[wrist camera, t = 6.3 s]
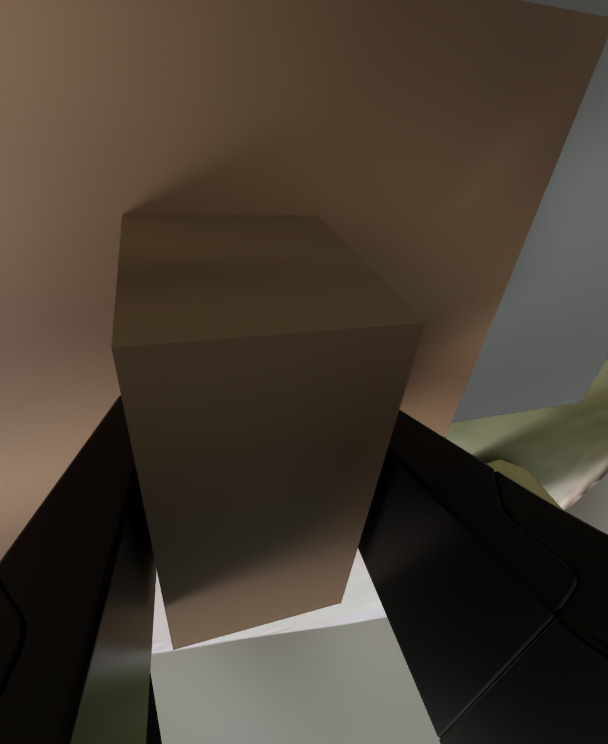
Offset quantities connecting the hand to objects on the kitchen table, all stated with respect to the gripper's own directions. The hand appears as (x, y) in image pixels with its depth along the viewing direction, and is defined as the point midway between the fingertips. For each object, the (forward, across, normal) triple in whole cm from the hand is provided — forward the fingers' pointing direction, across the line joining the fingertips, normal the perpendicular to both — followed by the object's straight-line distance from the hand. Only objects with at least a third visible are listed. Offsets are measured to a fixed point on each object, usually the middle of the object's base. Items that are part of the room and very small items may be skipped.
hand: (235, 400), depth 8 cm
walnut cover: (+2, 0, 0) cm, 2 cm away
